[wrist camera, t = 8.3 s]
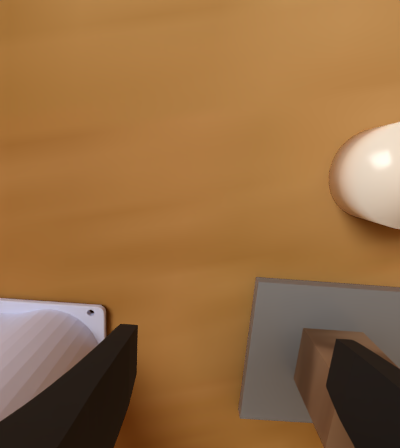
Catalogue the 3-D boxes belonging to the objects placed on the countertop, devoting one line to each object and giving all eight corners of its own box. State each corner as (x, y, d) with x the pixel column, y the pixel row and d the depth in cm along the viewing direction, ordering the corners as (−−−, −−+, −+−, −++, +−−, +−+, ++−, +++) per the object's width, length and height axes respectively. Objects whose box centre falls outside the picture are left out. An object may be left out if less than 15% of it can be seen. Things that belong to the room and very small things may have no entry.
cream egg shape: (320, 214, 18) (349, 225, 14) (337, 124, 16) (373, 112, 13) (404, 220, 18) (453, 233, 14) (427, 132, 16) (487, 122, 13)
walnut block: (293, 379, 19) (325, 449, 14) (303, 327, 18) (340, 385, 14) (350, 382, 19) (400, 454, 15) (362, 332, 18) (421, 390, 14)
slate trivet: (238, 409, 21) (239, 418, 20) (256, 277, 18) (258, 281, 18) (378, 417, 21) (385, 427, 20) (415, 288, 19) (424, 293, 18)
